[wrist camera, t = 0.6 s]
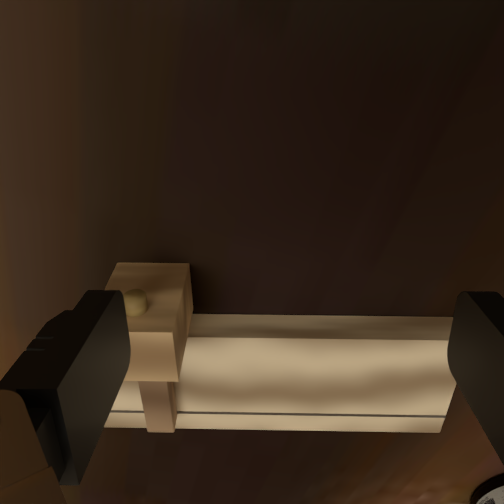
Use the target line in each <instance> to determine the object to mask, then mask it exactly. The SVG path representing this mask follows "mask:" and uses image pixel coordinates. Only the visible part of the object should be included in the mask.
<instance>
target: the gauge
mask: <svg viewBox="0 0 504 504" xmlns="http://www.w3.org/2000/svg"><path fill="white" fill-rule="evenodd" d="M104 290H120V291H121V292H122V294H123V297H124V303H125V310H126V317H127V324H128V331H129V338H130V345H131V356H130V364H129V368H128V371H127V373H126V376H125V378H124V381H138V384H139V390H140V395H141V400H142V405H143V410H144V415H145V420H146V425H147V430H148V432H174V430H175V425H176V420H177V408H176V401H175V394H174V386H173V382H179V377H180V372H181V367H182V362H183V357H184V352H185V347H186V342H187V337H188V332H189V327H190V322H191V317H192V312H193V299H192V288H191V278H190V267H189V263H117V264H116V267H115V269H114V271H113V273H112V275H111V277H110V279H109V281H108V283H107V285H106V287H105V289H104Z"/></svg>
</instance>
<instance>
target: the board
mask: <svg viewBox="0 0 504 504" xmlns="http://www.w3.org/2000/svg"><path fill="white" fill-rule="evenodd" d="M452 321H453V317H411V316H325V315H240V314H192V317H191V322H190V327H189V332H188V337H187V342H186V347H185V352H184V357H183V362H182V367H181V372H180V377H179V382H173V386H174V394H175V401H176V408H177V420H176V425H175V428H188V429H249V430H310V431H370V432H431V433H440V430H441V427H442V424H443V421H444V419H445V417H446V413H447V410H448V407H449V404H450V401H451V398H452V395H453V392H454V389H455V386H456V381H455V379H454V377H453V376H452V374H451V372H450V369H449V365H448V359H447V347H448V342H449V336H450V331H451V326H452ZM104 427H128V428H147V425H146V420H145V415H144V410H143V405H142V400H141V395H140V390H139V384H138V381H123V383H122V385H121V388H120V390H119V392H118V395H117V397H116V399H115V402H114V404H113V407H112V409H111V411H110V414H109V416H108V418H107V421H106V423H105V425H104Z"/></svg>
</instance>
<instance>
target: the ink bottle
mask: <svg viewBox="0 0 504 504" xmlns="http://www.w3.org/2000/svg"><path fill="white" fill-rule="evenodd" d="M470 504H504V475H502V476H499V477H497V478H495V479H492V480H491V481H489V482H487V483H486V484H484V485H483V486H481V487H480V488H479V489H478V490H477V491H476V492H475V494H474V495H473V497H472V499H471V502H470Z"/></svg>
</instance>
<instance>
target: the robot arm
mask: <svg viewBox="0 0 504 504" xmlns="http://www.w3.org/2000/svg"><path fill="white" fill-rule="evenodd" d="M130 356H131V345H130V338H129V331H128V324H127V317H126V310H125V303H124V297H123V294H122V292H121V291H120V290H88V291H87V292H86V293H85V294H84V296H83V297H82V298H81V300H80V301H79V302H78V304H77V305H76V307H75V308H74V309H73V310H65V311H63V312H62V313H60V314H59V315H57V316H56V317H54V318H53V319H51V320H50V321H48V322H47V323H46V324H45V325H44V327H43V328H42V329H41V330H40V332H39V333H38V334H37V335H36V339H33V340H32V342H31V343H30V344H29V345H28V347H27V350H26V351H24V352H23V353H22V354H21V356H20V357H19V358H18V359H17V361H16V362H15V363H14V364H13V366H12V367H11V368H10V369H9V371H8V372H7V373H6V374H5V376H4V377H3V378H2V380H1V381H0V504H67V503H66V500H65V498H64V495H63V493H62V490H61V487H60V485H79V484H80V482H81V480H82V477H83V475H84V473H85V470H86V468H87V466H88V463H89V461H90V458H91V456H92V454H93V451H94V449H95V447H96V444H97V442H98V440H99V437H100V435H101V432H102V430H103V428H104V425H105V423H106V421H107V418H108V416H109V414H110V411H111V409H112V407H113V404H114V402H115V399H116V397H117V395H118V392H119V390H120V388H121V385H122V383H123V381H124V378H125V376H126V373H127V371H128V368H129V364H130ZM447 359H448V365H449V369H450V372H451V374H452V376H453V377H454V379H455V381H456V383H457V384H458V386H459V388H460V390H461V391H462V393H463V395H464V397H465V398H466V400H467V402H468V404H469V405H470V407H471V409H472V411H473V412H474V414H475V416H476V418H477V419H478V421H479V423H480V425H481V426H482V428H483V430H484V432H485V433H486V435H487V437H488V439H489V440H490V442H491V444H492V446H493V447H494V449H495V451H496V453H497V454H498V456H499V458H500V460H501V461H502V463H503V465H504V298H503V297H502V296H501V295H500V294H499V293H497V292H466V291H463V292H461V293H460V294H459V295H458V298H457V301H456V305H455V310H454V316H453V321H452V326H451V331H450V336H449V342H448V347H447Z"/></svg>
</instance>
